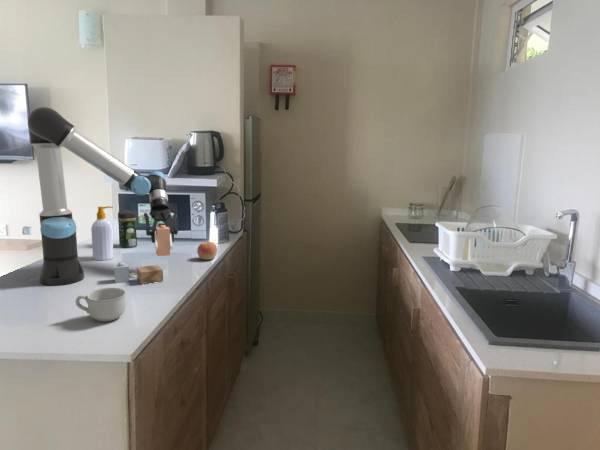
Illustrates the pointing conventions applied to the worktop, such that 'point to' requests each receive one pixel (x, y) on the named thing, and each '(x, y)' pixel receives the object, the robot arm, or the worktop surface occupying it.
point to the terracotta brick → (163, 240)
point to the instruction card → (133, 274)
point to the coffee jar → (127, 229)
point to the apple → (207, 250)
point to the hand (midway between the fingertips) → (163, 248)
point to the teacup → (104, 303)
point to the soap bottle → (102, 237)
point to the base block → (149, 274)
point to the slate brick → (121, 272)
